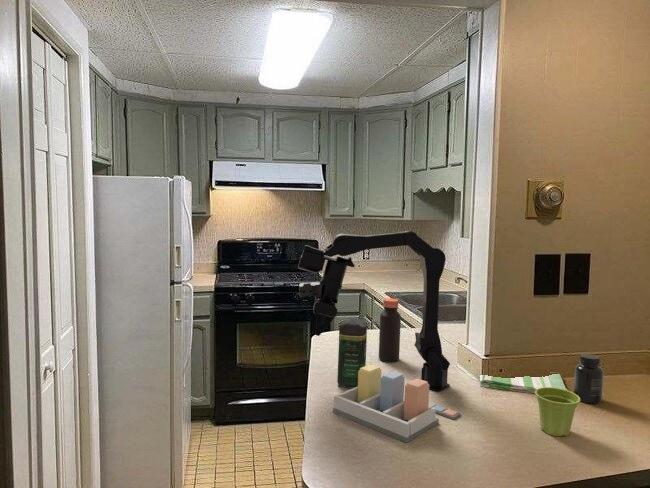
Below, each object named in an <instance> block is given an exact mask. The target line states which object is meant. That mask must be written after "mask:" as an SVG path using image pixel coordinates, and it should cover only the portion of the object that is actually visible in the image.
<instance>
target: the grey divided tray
mask: <svg viewBox="0 0 650 488" xmlns="http://www.w3.org/2000/svg"><path fill="white" fill-rule="evenodd" d="M332 413H334V414H337V415H339V416H342V417H344V418H345V419H349V420H351V421H354V422H356V423H359V424H361V425H363V426H365V427H368V428H370V429H373V430H375V431H376V432H377V431H378V432H380V433H383V434H385V435H387V436H389V437H392V438H395V439H397V440H399V441H402V442H404V443H408V442H410V441H412V440H413V439H415V438H416V437H418V436H420V435H421V434H423V433H425V432H426V431H429V430H430V429H431V428H433V427H434V426H437V424H439V423H440V420H439V418H437V417H436V408H431V409H429V408H428V410H427V411H425V412H424V413H422V414H420V415H418V416H417V417H415V418H413V419H411V420H409V421H408V420H406V419H404V401H403V402H401V403H399V404H397V405H395V406H393V407H391V408H389V409H387V410H385V411H382V410H380V393H379V394H377V395H375V396H373V397H371V398H368V399H366V400H364V401H362V402H358V386H357V387H355V388H349V389H348V390H346V391H343V392H341V393H339V394H337V395H333V408H332ZM429 428H430V429H429Z"/></svg>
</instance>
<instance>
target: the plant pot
mask: <svg viewBox="0 0 650 488" xmlns="http://www.w3.org/2000/svg"><path fill="white" fill-rule="evenodd" d="M567 390H568V389H567ZM567 390H564V389H559V388H552V387H543V388H538V389H537V390H536V391H535V393H534V394H535V396H536V399H537V400H536V401H537V402H538V413H539V425H540V429H541V430H542V431H544V432H545V433H546V434H547V435H551V436H554V437H562V436H565V437H568V436H569V435H570V433H571V432H570V431H571V428H572V423H573V419H574V417H575V411H576V409H577V407H578V404H579V403H580V402H581V401H580V397H579V396H578V395H576V394H575V393H574V391H570V390H569V391H567Z"/></svg>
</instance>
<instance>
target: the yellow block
mask: <svg viewBox="0 0 650 488" xmlns="http://www.w3.org/2000/svg"><path fill="white" fill-rule="evenodd" d="M381 378H382V368H381V367H380V366H377V365H374V364H372V363H371V364H368V365H366V366H365V367H362V368H360V370H359V371H358V402H362V401H364V400H366V399H368V398H371V397H373V396H375V395H377V394H379V393H380V387H381Z"/></svg>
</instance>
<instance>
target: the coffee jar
mask: <svg viewBox="0 0 650 488" xmlns="http://www.w3.org/2000/svg"><path fill="white" fill-rule="evenodd" d="M367 325H368V324H367V321H365V320H363V318H359V317H347V318H346V319H343V320H342V321H341V322H340V323H339V326H338V327H339V329H338V332H339V333H338V352H337V353H338V356H337V358H338V359H337V360H338V361H337V376H336V377H337V381H336V382H337V384H338V386H341V387H345V388H347V389H353V388H355V387H357V386H358V371H359V370H360V368H362V367H365V366H367V365H366V364H367V363H366V362H367V343H368V342H367V341H368V339H367V337H368V336H367V335H368V326H367Z"/></svg>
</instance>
